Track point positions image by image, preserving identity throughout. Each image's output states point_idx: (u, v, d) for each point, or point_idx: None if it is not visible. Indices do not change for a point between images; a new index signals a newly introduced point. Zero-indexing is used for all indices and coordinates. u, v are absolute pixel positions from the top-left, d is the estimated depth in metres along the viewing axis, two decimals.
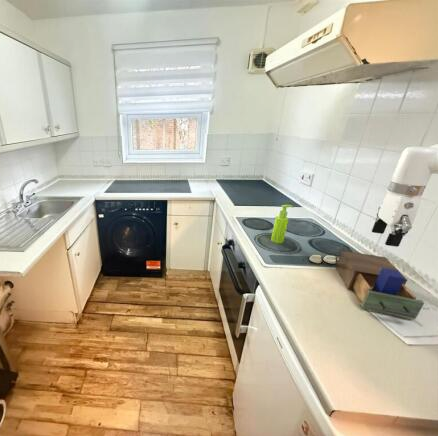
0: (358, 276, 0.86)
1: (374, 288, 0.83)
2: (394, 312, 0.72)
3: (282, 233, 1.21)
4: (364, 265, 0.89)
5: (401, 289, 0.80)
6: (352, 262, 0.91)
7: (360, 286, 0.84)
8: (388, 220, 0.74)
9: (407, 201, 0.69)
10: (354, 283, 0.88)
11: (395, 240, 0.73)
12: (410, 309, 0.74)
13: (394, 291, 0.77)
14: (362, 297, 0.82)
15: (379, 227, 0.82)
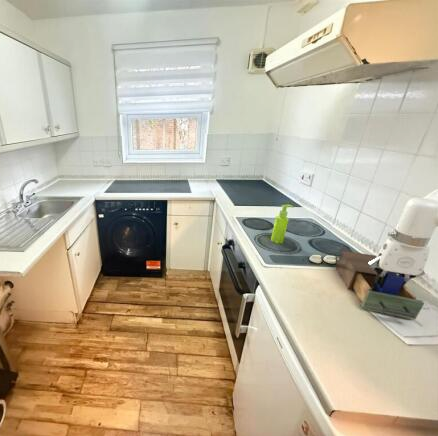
0: (358, 276, 0.86)
1: (374, 288, 0.83)
2: (394, 312, 0.72)
3: (282, 233, 1.21)
4: (364, 265, 0.89)
5: (401, 289, 0.80)
6: (352, 262, 0.91)
7: (360, 286, 0.84)
8: None
9: (386, 242, 0.76)
10: (354, 283, 0.88)
11: (376, 278, 0.80)
12: (410, 309, 0.74)
13: (394, 291, 0.77)
14: (362, 297, 0.82)
15: None
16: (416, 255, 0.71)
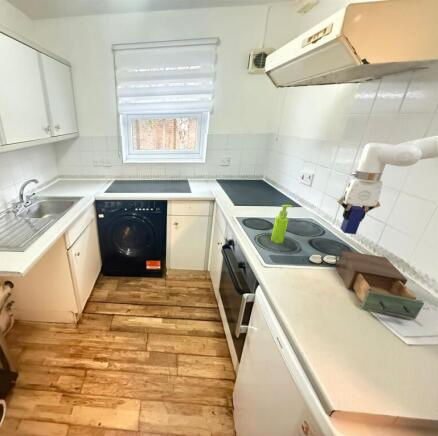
0: (358, 276, 0.86)
1: (343, 223, 1.02)
2: (394, 312, 0.72)
3: (282, 233, 1.21)
4: (364, 265, 0.89)
5: (401, 289, 0.80)
6: (352, 262, 0.91)
7: (360, 286, 0.84)
8: None
9: (350, 181, 0.95)
10: (354, 283, 0.88)
11: (343, 213, 0.99)
12: (410, 309, 0.74)
13: (357, 221, 0.96)
14: (362, 297, 0.82)
15: None
16: (372, 188, 0.90)
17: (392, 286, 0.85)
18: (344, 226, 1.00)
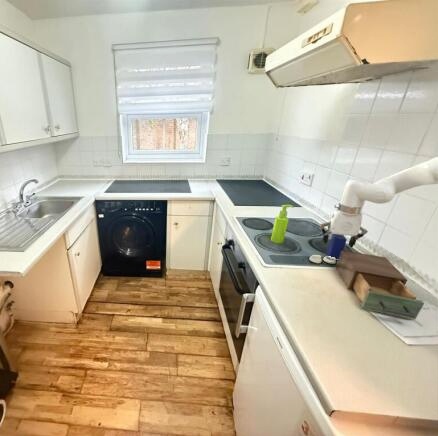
0: (358, 276, 0.86)
1: (328, 249, 1.11)
2: (394, 312, 0.72)
3: (282, 233, 1.21)
4: (364, 265, 0.89)
5: (401, 289, 0.80)
6: (352, 262, 0.91)
7: (360, 286, 0.84)
8: None
9: (334, 212, 1.04)
10: (354, 283, 0.88)
11: (323, 237, 1.09)
12: (410, 309, 0.74)
13: (340, 249, 1.06)
14: (362, 297, 0.82)
15: (350, 241, 1.05)
16: (353, 220, 1.00)
17: (392, 286, 0.85)
18: (329, 253, 1.09)
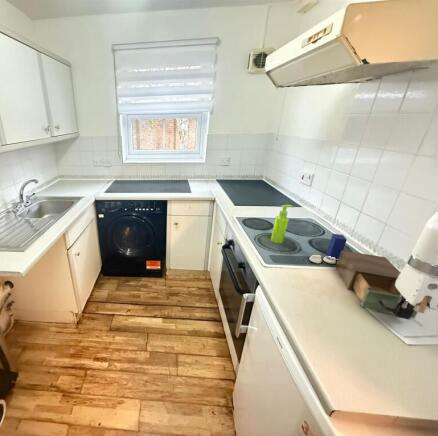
0: (357, 275, 0.87)
1: (328, 249, 1.11)
2: None
3: (282, 233, 1.21)
4: (364, 265, 0.89)
5: None
6: (352, 262, 0.91)
7: (359, 285, 0.84)
8: (408, 297, 0.67)
9: (431, 282, 0.62)
10: (353, 282, 0.89)
11: (406, 313, 0.69)
12: None
13: (340, 249, 1.06)
14: (361, 296, 0.82)
15: None
16: None
17: (391, 285, 0.85)
18: (329, 253, 1.09)
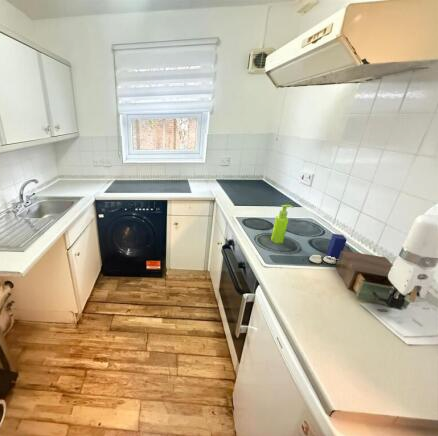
0: None
1: (328, 249, 1.11)
2: None
3: (282, 233, 1.21)
4: (364, 265, 0.89)
5: None
6: (352, 262, 0.91)
7: (355, 278, 0.88)
8: (399, 287, 0.71)
9: (420, 272, 0.66)
10: None
11: (397, 303, 0.73)
12: None
13: (340, 249, 1.06)
14: (356, 288, 0.86)
15: None
16: None
17: (385, 278, 0.89)
18: (329, 253, 1.09)
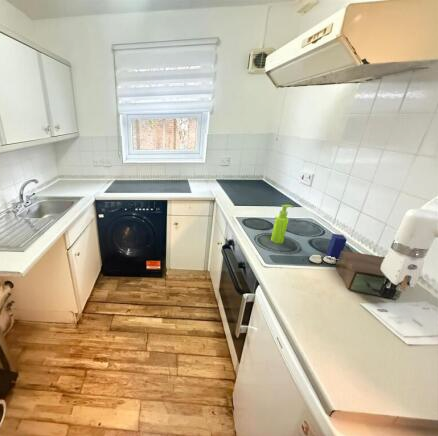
0: None
1: (328, 249, 1.11)
2: None
3: (282, 233, 1.21)
4: (364, 265, 0.89)
5: None
6: (352, 262, 0.91)
7: None
8: (391, 277, 0.75)
9: (411, 263, 0.70)
10: None
11: (389, 293, 0.78)
12: None
13: (340, 249, 1.06)
14: None
15: None
16: None
17: None
18: (329, 253, 1.09)
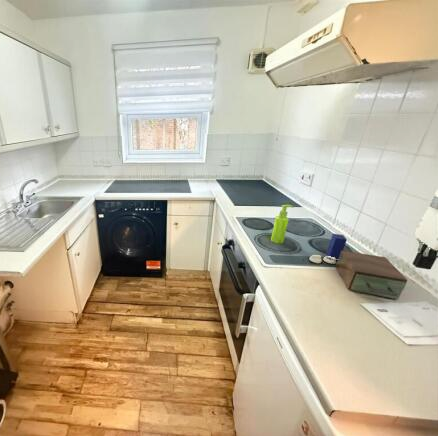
0: None
1: (328, 249, 1.11)
2: (379, 292, 0.81)
3: (282, 233, 1.21)
4: (364, 265, 0.89)
5: None
6: (352, 262, 0.91)
7: None
8: (430, 242, 0.62)
9: None
10: None
11: (427, 262, 0.65)
12: (394, 289, 0.83)
13: (340, 249, 1.06)
14: None
15: None
16: None
17: None
18: (329, 253, 1.09)
